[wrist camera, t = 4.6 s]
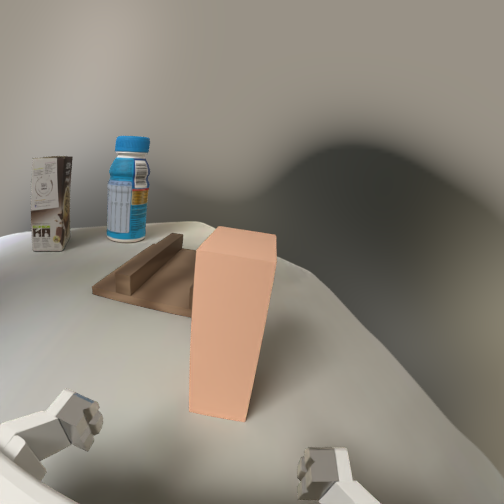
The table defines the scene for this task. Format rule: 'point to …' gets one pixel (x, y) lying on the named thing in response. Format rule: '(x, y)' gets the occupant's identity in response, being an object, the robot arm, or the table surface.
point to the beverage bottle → (128, 190)
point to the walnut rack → (155, 278)
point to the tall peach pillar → (229, 319)
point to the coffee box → (50, 202)
